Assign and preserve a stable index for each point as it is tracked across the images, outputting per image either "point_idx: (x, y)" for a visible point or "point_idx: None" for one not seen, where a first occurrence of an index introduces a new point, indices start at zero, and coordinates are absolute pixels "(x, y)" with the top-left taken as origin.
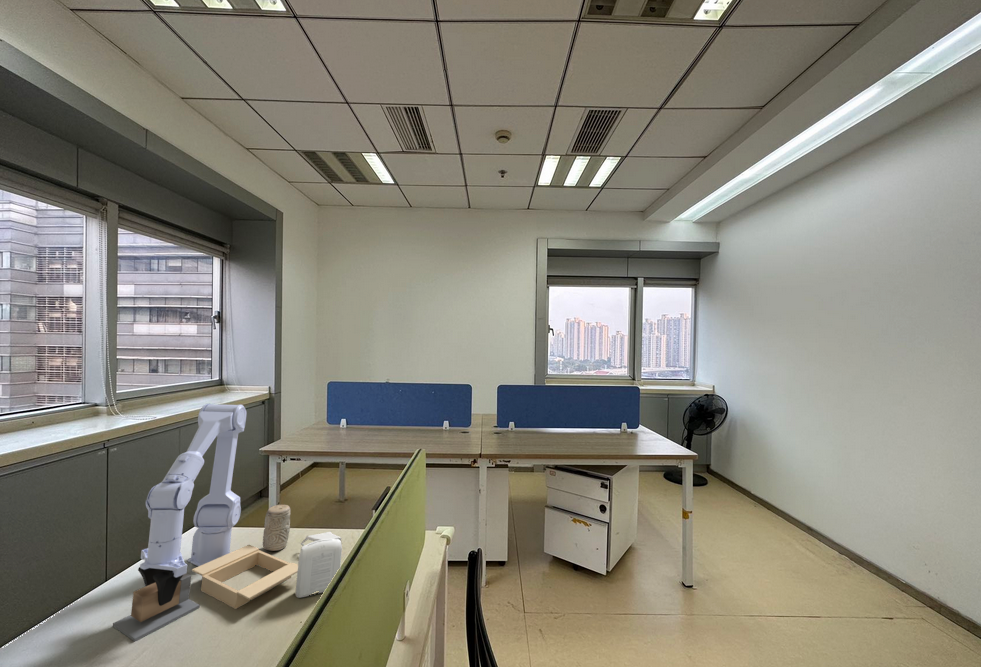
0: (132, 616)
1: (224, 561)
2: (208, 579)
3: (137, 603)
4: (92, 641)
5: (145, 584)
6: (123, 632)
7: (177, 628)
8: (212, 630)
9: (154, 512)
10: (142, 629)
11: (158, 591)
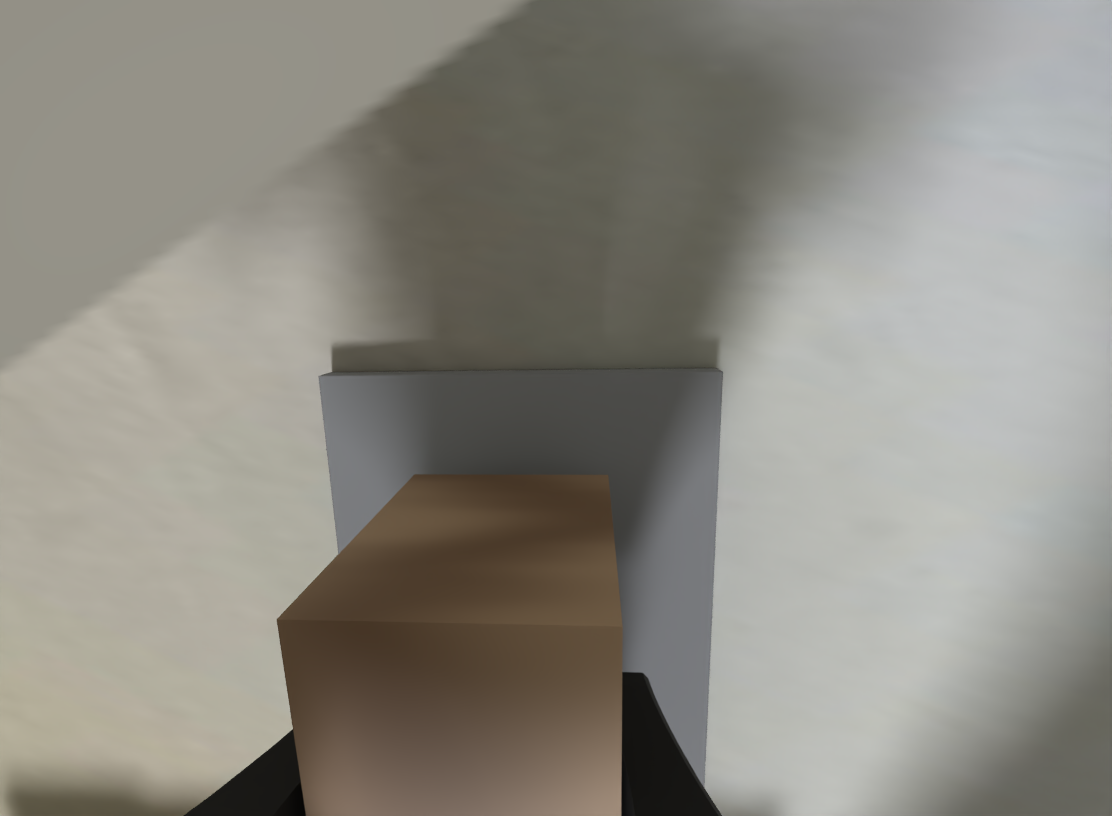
0: (575, 475)
1: None
2: None
3: (476, 547)
4: (633, 190)
5: (688, 811)
6: (521, 372)
7: (247, 601)
8: (34, 697)
9: None
10: (400, 460)
11: (259, 801)
